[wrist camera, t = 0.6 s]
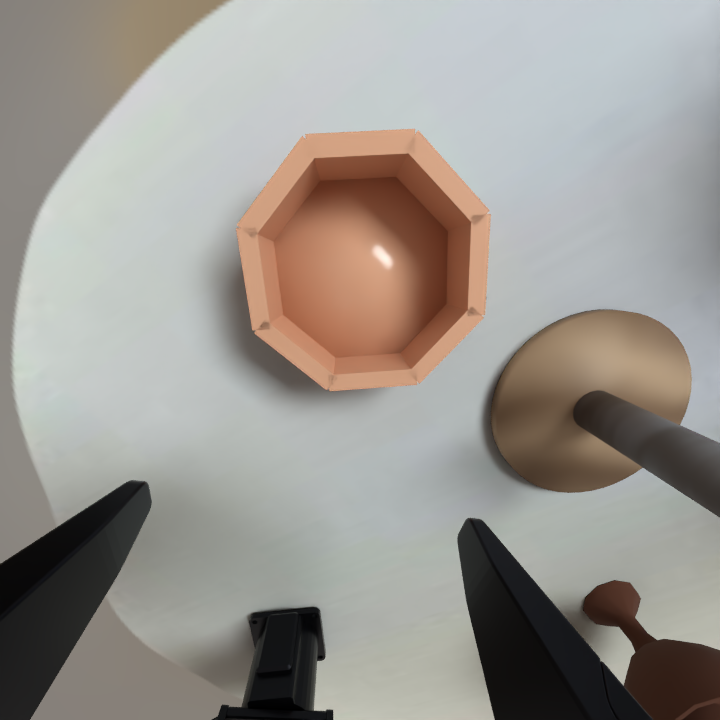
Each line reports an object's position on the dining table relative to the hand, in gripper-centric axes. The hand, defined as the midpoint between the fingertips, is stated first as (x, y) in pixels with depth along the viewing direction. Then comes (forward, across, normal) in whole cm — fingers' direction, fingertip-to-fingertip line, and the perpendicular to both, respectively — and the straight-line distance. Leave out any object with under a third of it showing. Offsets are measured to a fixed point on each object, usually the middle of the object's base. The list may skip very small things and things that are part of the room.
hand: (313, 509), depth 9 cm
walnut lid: (+14, -20, +3) cm, 25 cm away
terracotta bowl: (+15, -1, -4) cm, 16 cm away
